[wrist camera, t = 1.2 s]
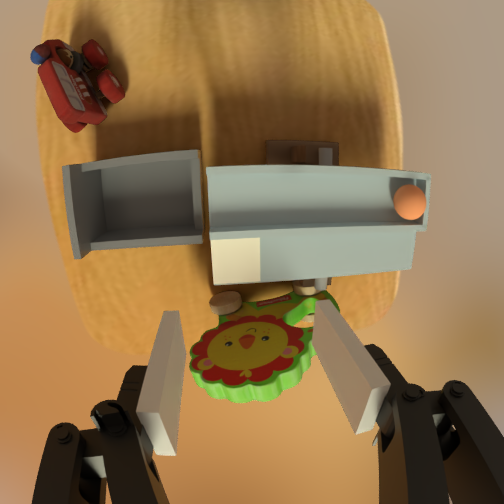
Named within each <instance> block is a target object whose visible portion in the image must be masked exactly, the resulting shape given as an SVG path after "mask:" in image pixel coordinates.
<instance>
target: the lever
mask: <svg viewBox="0 0 504 504" xmlns="http://www.w3.org/2000/svg"><path fill="white" fill-rule="evenodd" d="M206 175H207V179H208V201H209V220H210V231H209V235H210V240H211V254H212V268H213V281H214V285H229V284H246V283H261V282H275V281H289V280H301V279H314V278H315V285H314V288H315V289H316V290H321V291H322V290H326V289H327V278H328V277H337V276H348V275H359V274H369V273H379V272H388V271H398V270H407V269H411V266H412V260H413V253H414V246H415V239H416V231H426V230H427V221H428V212H429V200H430V185H431V174H428V173H420V172H414V171H404V170H394V169H382V168H369V167H353V166H333V165H332V148H319V165H288V164H275V165H230V166H209V167H206ZM407 184H411V185H415V186H417V187H419V188H420V189H421V190H422V191H423V193H424V194H425V197H426V209H425V211H424V213H423V214H422V215H421V216H420V217H419V218H417V219H414V220H408V219H404V218H402V217H401V216H400V215H399V214H398V213H397V212H396V210H395V208H394V203H393V199H394V195H395V193H396V191H397V190H398V189H399V188H400V187H401V186H403V185H407Z"/></svg>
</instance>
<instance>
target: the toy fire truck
mask: <svg viewBox="0 0 504 504" xmlns="http://www.w3.org/2000/svg"><path fill="white" fill-rule="evenodd" d="M82 52H83V53H82V54H79V53H78V52H76V51H74V49H73V48H72V47H71V46H70V45H68V44H66V43H64V42H63V41H61V40H59V39H56V40H47V41H45V42H44V43H43V44H40V45H38V46H36V47H35V48H34V49H33V51H32V53H31V61H32V62H33V63H34V64H38V65H39V64H41V65H40V66H39V68H38V73H39V76H40V78H41V81H42V83H43V85H44V88H45V90H46V92H47V95H48V97H49V99H50V101H51V103H52V106H53V108H54V110H55V112H56V114H57V116H58V118H59V119H60V120H61V121H62V122H63V124H64V125H65V126H66V127H67V128H68V129H69V130H71V131H72V132H74V133H77V132H79V131H81V130H82V129H83V128H84V127H85V126H86V125H87V123H89V124H93V125H98V124H100V123H101V122H102V121H103V120H104V119H105V118H106V117H107V112H106V110H105V108H104V106H103V104H102V100H101V98H102V97H104V96H105V97H106V98H108V99H109V100H110V101H111V102H112V103H117V102H119V101H120V100H121V99H123V98H124V97H125V91H124V89H123V87H122V85H121V84H120V82H119V81H118V79H117V78H116V77H115V75H114V74H113V73H112V72H111V71H110V70H107V69H106V70H104V71H103V72H101V73H100V74H99V75H97V77H96V82H97V85H98V86H99V88H100V90H99V91H97V92H96V91H95V89H94V87H93V86H92V84H91V82H90V80H89V78H88V76H87V74H86V73H85V72H86V71H87V72H88V71H90V70H91V69H92V68H94V69H96V70H101V69H102V68H103V67H105V66H106V65H107V64H108V62H109V61H108V58H107V56H106V54H105V52H104V51H103V49H102V48H101V46H100V45H99V44H98V43H97V42H96V41H95V40H93V39H91V40H89V41H88V42H87V43H85V44H84V45H83V46H82Z"/></svg>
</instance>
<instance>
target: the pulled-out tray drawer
mask: <svg viewBox="0 0 504 504" xmlns="http://www.w3.org/2000/svg"><path fill="white" fill-rule="evenodd" d="M62 171H63V184H64V195H65V204H66V212H67V219H68V226H69V232H70V238H71V244H72V249H73V255H74V259H82V258H83V257H84V256H85V255H87V254H88V253H89V252H90V251H92V250H107V249H122V248H137V247H153V246H170V245H187V244H203V238H204V233H205V219H204V201H203V181H202V155H201V151H200V150H198V149H197V150H183V151H171V152H161V153H152V154H143V155H135V156H127V157H120V158H113V159H106V160H100V161H94V162H88V163H83V164H73V165H66V166H62Z"/></svg>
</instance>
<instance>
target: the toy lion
mask: <svg viewBox="0 0 504 504" xmlns="http://www.w3.org/2000/svg"><path fill="white" fill-rule="evenodd" d="M293 289H294V291H293V292H290V293H288V294H286V295H283V296H280V297H277V298H273V299H268V300H263V301H256V302H242V299H241V296H240V294H239V293H238V292H236V291H225V292H221V293H219V294H216V295H215V296H213V297H212V298H211V299H210V301H209V304H210V307H211V310H212V312H213V313H214V314H218V315H219V325H218V326H217V327H216V328H213V329H210V330H208V331H206V332H205V333H204V334H203V335H202V336H201V339H200V341H199V342H197V343H195V344H194V345H193V346H192V347H191V349H190V356H191V358H192V359H191V362H190V366H189V367H190V371H191V373H192V374H193V377H194V379H195V382H196V384H197V385H198V386H199V387H201V388H205V389H206V391H207V393H208V395H209V396H211V397H213V398H216V399H228V400H230V401H232V402H234V403H247V402H250V401H252V400H258V401H262V402H265V401H270V400H273V399H275V398H277V397H278V396H279V395H280V394H281V392H282V391H283V390H286V389H289V388H292V387H294V386H295V385H297V384H298V383H299V382H300V381H301V379H302V374H303V373H304V372H305V371H307V370H308V369H309V367H310V365H311V358H312V357H313V356H314V355H317V354H316V352H315V350H314V348H313V346H312V336H313V327H308V328H298V327H294V326H293V325H295V324H296V323H298V322H299V321H300V320H302V321H304V322H314V315H315V304H316V301H319V300H329V299H330V301H331V302H332V303H333V305H334V306H335V307H336V309H337V310H338V311H339V313H340V309H339V306H338V304H337V303H336V301H335V299H334V298H333V297H332V296H331V295H330V294H329V293H328V292H327V291H326V290H322V291H321V290H316V289H315V288H314V287H302V286H301V284H300V283H299V281H298V280H293Z"/></svg>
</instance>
